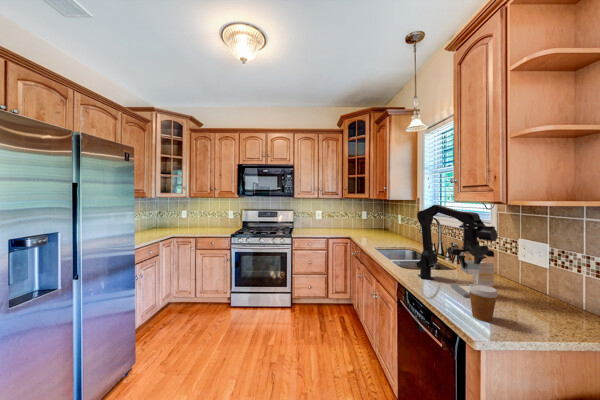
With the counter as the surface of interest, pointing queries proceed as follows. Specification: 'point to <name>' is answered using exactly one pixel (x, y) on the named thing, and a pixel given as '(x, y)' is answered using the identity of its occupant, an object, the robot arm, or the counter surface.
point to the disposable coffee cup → (482, 301)
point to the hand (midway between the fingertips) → (469, 269)
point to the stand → (461, 289)
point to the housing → (471, 267)
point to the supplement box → (485, 274)
